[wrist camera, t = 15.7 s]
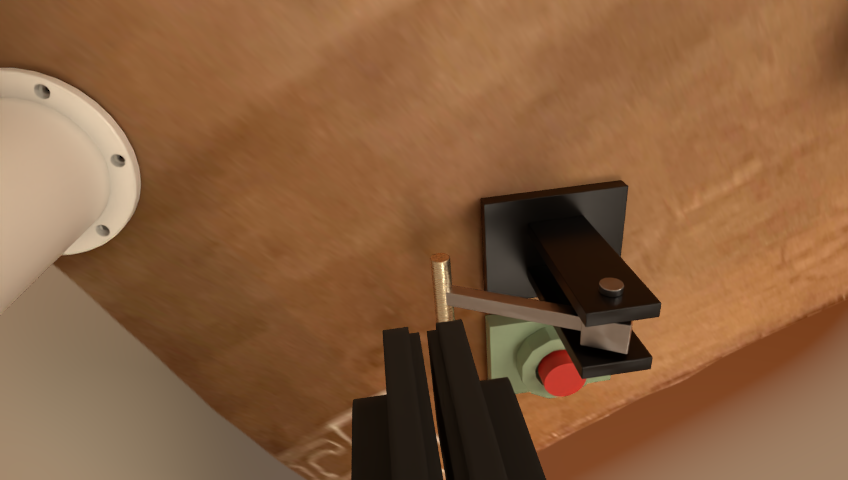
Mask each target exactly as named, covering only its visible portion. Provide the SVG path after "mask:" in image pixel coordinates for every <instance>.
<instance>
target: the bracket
mask: <svg viewBox="0 0 848 480" xmlns="http://www.w3.org/2000/svg"><path fill="white" fill-rule="evenodd" d="M627 193H628V185H626V184H625V183H624V182H623V181H621V180H620V181H612V182H604V183H597V184H589V185H581V186H573V187H565V188H558V189H550V190H542V191H534V192H526V193H519V194H511V195H503V196H495V197H487V198H481V220H482V245H483V270H484V291H488V292H494V293H499V294H505V295H511V296H517V297H522V298H534V297H538V299H539V300H540V301H545V302H551V303H557V304H562V305H568V306H573V308H574V309H575V311H576V313H577V314H578V316H579V318H580V319H581V321H582V322H583V324H584V326H585V327H591V326H598V325H605V324H612V323H619V322H626V321H633V320H640V319H647V318H654V317H659V315H660V309H661V302H660V301H659V300H658V299H657V298H656V297H655V295H654V294H653V293H652V292H651V291H650V290H649V289H648V288H647V286H646V285H645V284H644V283H643V282H642V281H641V280H640V279H639V277H638V276H637V275H636V274H635V273H634V272H633V271H632V270H631V268H630V267H629V266H628V265H627V264H626V263H625V262H624V261H623V259H622V258H621V249H622V240H623V230H624V221H625V212H626V202H627ZM553 327H554V328H555V330H556V332H557V334H558V336H559V338H560V340H561V342H562V343H563V345H564V347H565V349H566V351H567V353H568V355H569V356H570V358H571V360H572V362H573V364H574V366H575V368H576V370H577V371H578V373H579V375H580V377H581V379H587V378H594V377H600V376H607V375H614V374H621V373H627V372H634V371H641V370H647V369H651V364H652V356H651V354H650V353H649V352H648V350H647V349H646V348H645V346H644V345H643V344H642V342H641V341H640V340H639V338H638V337H637V336H636V334H635V333H634V332H633V330H632V332H631V338H630V344H629V350H628V354H622V353H617V352H613V351H608V350H603V349H598V348H593V347H588V346H583V345H580V337H581V331H578V330H573V329H568V328H563V327H558V326H553Z"/></svg>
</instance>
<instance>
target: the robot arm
mask: <svg viewBox="0 0 848 480" xmlns="http://www.w3.org/2000/svg"><path fill="white" fill-rule="evenodd" d="M46 87H47V88H48V89H49V91H50V92H49V91H47V89H46ZM120 156H122V157H123V158H124V160H123V159H121V158H120ZM140 188H141V179H140V170H139V165H138V162H137V159H136V156H135V153H134V150H133V148H132V146H131V144H130V143H129V141H128V139H127V137H126V135H125V133H124V132H123V131H122V129H121V128H120V127H119V126H118V124H117V123H116V122H115V120H114V119H113V118H112V117H111V116H110V115H109V114H108V113H107V112H106V111H105V110H104V109H103V108H102V107H101V106H100V105H99V104H98V103H97V102H95V101H94V100H93V99H91V98H90V97H88V96H87V95H85V94H84V93H83V92H81V91H80V90H78V89H77V88H75V87H73V86H71V85H69V84H67V83H65V82H63V81H61V80H59V79H57V78H54V77H51V76H48V75H45V74H42V73H39V72H36V71H30V70H24V69H18V68H0V315H1V314H2V313H3V312H4V311H5V310H6V309H7V308H8V307H9V306H10V305H11V304H12V303H13V302H14V301H15V300H16V299H17V298H18V297H19V296H20V295H21V294H22V293H23V292H24V291H25V290H26V289H27V288H28V287H29V286H30V285H31V284H32V283H33V282H34V281H35V280H36V279H37V278H39V277H40V275H42V274H43V272H45V271H46V270H47V269H48V268H49V267H50V266H51V265H52V264H53V263H54V262H55V261H56V260H57V259H58V258H59V257H60V256H61V255H72V254H76V253H81V252H86V251H89V250H92V249H94V248H96V247H99V246H101V245H103V244H105V243H106V242H108V241H109V240H111V239H112V238H113V237H115V236H116V235H117V234H118V233H119V232H120V231H121V230H122V229H123V228H124V227H125V226H126V224H127V223H128V221H129V220H130V218H131V217H132V215H133V214H134V212H135V209H136V207H137V204H138V201H139V197H140ZM427 337H428V346H429V355H430V365H431V374H432V383H433V392H434V401H435V410H436V420H437V428H438V434H439V441H440V446H441V452H442V458H443V464H444V470H445V476H446V480H546V478H545V475H544V473H543V470H542V467H541V464H540V461H539V459H538V456H537V453H536V450H535V447H534V445H533V442H532V439H531V436H530V434H529V431H528V428H527V425H526V423H525V420H524V417H523V414H522V412H521V409H520V406H519V403H518V401H517V398H516V395H515V392H514V390H513V387H512V384H511V382H510V380H509V378H508V377H503V378H496V379H489V380H482V381H479V377H478V374H477V370H476V367H475V363H474V360H473V356H472V353H471V350H470V346H469V343H468V339H467V336H466V332H465V329H464V325H463V322H462V320H461V319H460V320H453V321H446V322H438V323H436V330H431V331H427ZM383 345H384V361H385V376H386V391H387V395H381V396H374V397H367V398H361V399H354V400H353V407H352V475H351V480H443V476H442V469H441V463H440V457H439V451H438V445H437V439H436V433H435V427H434V421H433V414H432V408H431V402H430V396H429V390H428V384H427V378H426V372H425V366H424V359H423V353H422V347H421V341H420V335H419V332H417V333H410V334H409V331H408V327H403V328H396V329H389V330H383Z"/></svg>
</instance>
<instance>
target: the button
mask: <svg viewBox="0 0 848 480" xmlns="http://www.w3.org/2000/svg"><path fill="white" fill-rule="evenodd" d="M538 374H539V376H540V378H541V381H542V383H543V385H544V387H545V389H546V391H547V392H548V393H550V394H551V395H554V396H568V395H571V394H573V393H575V392H577V391H578V390H579V389H581V388H582V386H583V385H584V384H585V382H586V379H581V377H580V375H579V373H578V371H577V370H576V368H575V366H574V364H573V362H572V360H571V358H570V356H569V355H568V353H567V351H566V350H557V351H553V352H551V353H550V354H548V355H546V356H545V357H544V358H543V359H542V360H541V361H540V363H539V366H538Z"/></svg>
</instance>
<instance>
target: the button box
mask: <svg viewBox="0 0 848 480" xmlns="http://www.w3.org/2000/svg"><path fill="white" fill-rule="evenodd" d="M485 320H486V345H487V370H488V380H489V379H496V378H503V377H508V378H509V380H510V382H511V384H512V387H513V390H514V392H515V394H518V393H525V392H531V393H532V394H535V395H539V396H542V397H546V398H555V397H562V396H554V395H551V394H550V393H548V392H547V391H546V389H545V387H544V385H543V383H542V381H541V378H540V376H539V374H538V366H539V363H540V361H541V360H542V359H543V358H544V357H545V356H546V355H548V354H550V353H551V352H553V351H557V350H566V349H565V347H564V345H563V343H562V342H561V340H560V338H559V336H558V334H557V332H556V330H555V328H554V327H553V326H552V325H547V324H542V323H537V322H532V321H526V320H521V319H516V318H511V317H506V316H500V315H495V314H492V315H486V316H485ZM610 376H611V375H607V376H600V377H594V378H587V379H586V382H585V384H584V385H583V386H582V387H584V386H585V385H586V384H587V383H592V382H598V381H605V380H610Z"/></svg>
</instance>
